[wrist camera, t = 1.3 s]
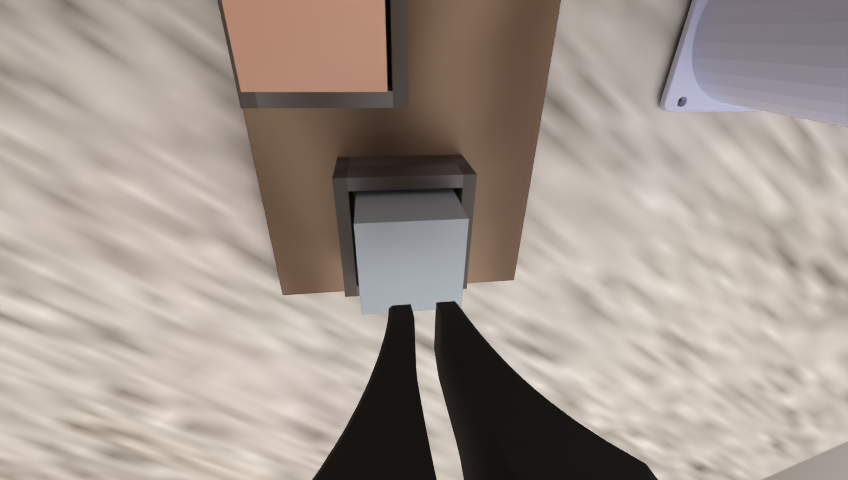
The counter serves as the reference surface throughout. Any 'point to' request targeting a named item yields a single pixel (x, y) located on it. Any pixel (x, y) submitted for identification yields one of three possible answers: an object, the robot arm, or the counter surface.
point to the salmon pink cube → (308, 45)
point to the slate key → (409, 248)
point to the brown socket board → (409, 137)
